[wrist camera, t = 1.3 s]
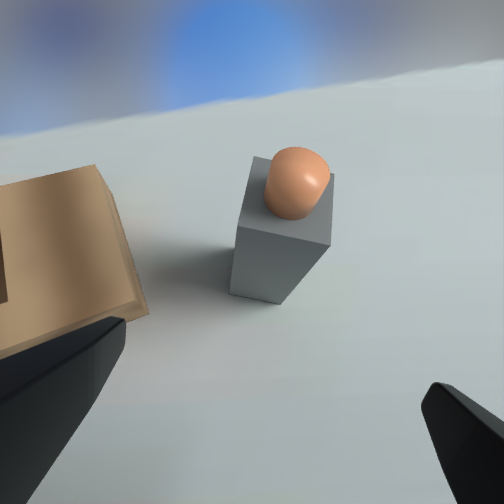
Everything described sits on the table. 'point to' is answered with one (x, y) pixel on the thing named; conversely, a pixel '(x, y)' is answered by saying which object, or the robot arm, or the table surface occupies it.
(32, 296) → the wooden block with hole
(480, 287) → the table surface
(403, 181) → the table surface
